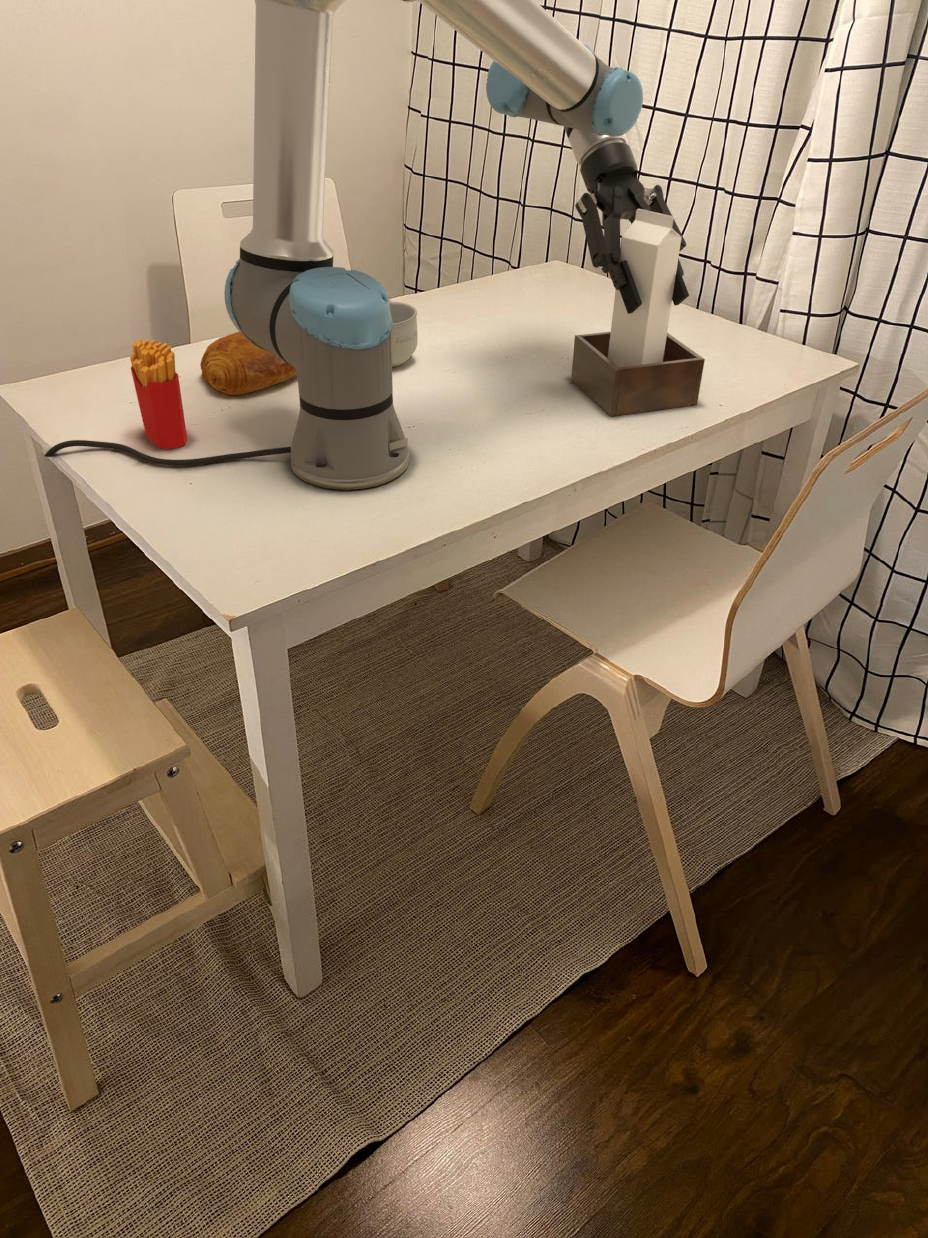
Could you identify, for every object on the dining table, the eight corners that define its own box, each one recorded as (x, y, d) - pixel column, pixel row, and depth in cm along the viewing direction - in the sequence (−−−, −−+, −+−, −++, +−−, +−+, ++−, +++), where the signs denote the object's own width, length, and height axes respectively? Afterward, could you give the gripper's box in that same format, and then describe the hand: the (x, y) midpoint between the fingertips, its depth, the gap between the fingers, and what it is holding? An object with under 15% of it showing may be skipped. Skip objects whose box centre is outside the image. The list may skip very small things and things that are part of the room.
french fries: (138, 431, 132) (119, 338, 124) (167, 423, 134) (151, 331, 127) (167, 455, 126) (149, 360, 119) (197, 446, 129) (181, 352, 121)
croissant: (318, 390, 149) (321, 339, 145) (232, 405, 139) (232, 351, 135) (263, 362, 157) (265, 312, 153) (178, 374, 147) (177, 321, 143)
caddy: (610, 416, 138) (616, 369, 134) (570, 379, 149) (574, 335, 145) (697, 404, 142) (704, 358, 138) (652, 369, 153) (658, 325, 148)
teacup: (408, 376, 149) (407, 325, 144) (341, 370, 150) (338, 319, 146) (429, 344, 160) (428, 296, 155) (366, 339, 161) (364, 291, 157)
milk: (639, 379, 140) (661, 220, 127) (605, 368, 143) (623, 211, 130) (662, 368, 143) (686, 212, 130) (628, 357, 147) (648, 204, 133)
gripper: (647, 166, 144) (699, 307, 142) (531, 178, 136) (585, 328, 134) (675, 133, 137) (730, 281, 135) (555, 144, 129) (612, 301, 127)
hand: (658, 304), depth 134 cm, fingers closed on milk, 7 cm apart
